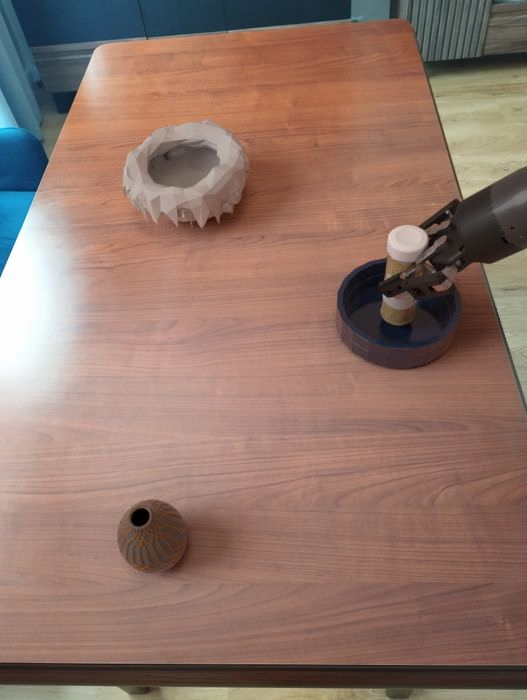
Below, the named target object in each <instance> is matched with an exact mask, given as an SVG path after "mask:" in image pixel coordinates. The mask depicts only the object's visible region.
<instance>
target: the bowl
mask: <svg viewBox="0 0 527 700" xmlns="http://www.w3.org/2000/svg"><path fill="white" fill-rule="evenodd" d="M246 152H247V151H246V147H245V146H244V144H242V142H241V141H240V140H239V139H238V138H237V137H236V136H235V135H234V133H233V132H232V131H231V129H227V128H224V127H222V126H221V125H220V124H218V123H217V122H215V121H213V120H212V119H210V118H205V119H204V120H202V121H189V122H185V123H181V124H180V125H168V126H163V127H160V128H157V129H155V130H154V131H153V133H151V134H150V135H148V136H147V137H146V138H145V140H143V141H142V143H140V145H138V146H137V147H136V148H134V149H132V150H130V151H129V152H128V153H127V155H126V160H125V165H124V167H122V170H123V171H122V173H123V174H122V191H123V193H124V197H125V198H128V199H129V201H130V202H131V205H132V207H133V208H134V209H137V211H138V213H139V214H140V213H141V214H142V216H143V218H144V220H145V222H146V224H147V225H148V217H147V212H148V213H149V214H150V216H151V219H152V221H153V222H154V223H156V224H158V223H159V220H160V219H161V220H162V221H171V222H172V223H173V224H174V225H175V227H176V228H179V222H185V223H187V222H189V223H190V226H191V228H194V226H193V222H195V221H196V223H197V224H198V226H199V227H200V228H201V229H204V227H205V225H206V223H207V221H208V219H211V218H213V217H214V218H215V219H216V221H217V223H218V224H220V219H221V216H224V215H223V213H230V214H231V215H232V216H233V213H234V206H235V205H238V204H239V202H240V201H241V199H242V193H243V190H244V188H245V186H246V182H247V179H248V174H249V173H248V172H249V171H250V165H251V164H250V159H249V157H248V154H247V153H246ZM146 211H147V212H146Z"/></svg>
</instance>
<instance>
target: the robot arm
mask: <svg viewBox="0 0 527 700" xmlns="http://www.w3.org/2000/svg"><path fill="white" fill-rule="evenodd" d="M434 225H435V226H434ZM417 227H419V228H421V229H423V230H424V231H425V232H426V233H427V235H428V238H429V242H428V249H427V250H426V251H425V252H423V253H422V254H420V255H419V256H418V257H417V258H416V259H415V263H414V264H413V265H412V266H410V267H409V268H407V269H406V270H405V271H403V272H400V273H398V274H396V275H394V276H392V277H390V278H388V279H386V280H384V281H382V282H380V283H379V285H378V290H379V291H380V292H381V293H382V294H383V295H385V296H386V297H388V298H392V297H394V296H396V295H399V294H401V293H403V292H405V291H407V292H408V293H409V294H410V295H411V296H412V297H413V298H414V299H415V300H420V299H426V298H432V297H438V296H444V295H449V294H452V293H453V292H454V291H455V290H456V288H457V286H456V284H455V283H454V284H455V285H454V284H453V283H452V281H453V282H454V279H455V277H456V275H457V273H461V272H462V271H464V270H465V269H466V268H467V267H469V266H470V265H471V264H473V263H480V264H485V265H492V264H494V263H497V262H500V261H502V260H504V259H506V258H508V257H511V256H513V255H515V254H518V253H519V252H522V251H524V250H526V249H527V165H525V166H523V167H521V168H518V169H516V170H515V171H512V172H511V173H509V174H507V175H506V176H504V177H502V178H500V179H498V180H496V181H494V182H493V183H491V184H489V185H488V186H485V187H484V188H482V189H480V190H479V191H476V192H475V193H473V194H471V195H469V196H467V197H465V198H464V199H462V200H461V201H460V200H459V199H458V198H454V199H452V200H451V201H449V202H448V203H447V204H446V205H445V206H443V207H442V208H440V209H439V210H437V211H436V212H435V213H433V215H430V217H428V218H427V219H426V220H424V221H423V222H422V223H420V224H419V225H418V226H417ZM387 257H388V254H387V255H386V257H385V258H386V262H387ZM427 262H428V263H427ZM428 264H429V265H431V266H433V267H434V268H436V269H437V270H433V269H432V268H431V267H430V266H429V265H428ZM418 271H421V272H422V273H423V274H424V275H422V276H418V277H415V276H414V274H415V273H417V272H418Z"/></svg>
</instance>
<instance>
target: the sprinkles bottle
mask: <svg viewBox="0 0 527 700" xmlns="http://www.w3.org/2000/svg"><path fill="white" fill-rule="evenodd" d="M428 242H429V238H428V235H427V233H426V232H425V231H424V230H423V229H421V228H419V227H418V226H416V225H412V224H404V225H399V226H396V227H394V228H393V229H392V230H391V231H390V232H389V234H388V236H387V242H386V251H387V255H388V257H387V256H386V258H387V265H386V274H385V279H384V280H386V279H388V278H390V277H392V276H394V275H396V274H398V273H400V272H403V271H405V270H406V269H407V268H409V267H410V266H412V265H413V264H414V263H415V259H416V258H417V257H418V256H419V255H420V254H422V253H423V252H425V251H426V250H427V249H428ZM414 276H415V277H418V276H422V272H421V271H418V272H417V273H415V274H414ZM416 302H417V300H415V299H414V298H413V297H412V296H411V295H410V294H409V293H408V292H407V291H405V292H403V293H401V294H399V295H396V296H394V297H392V298H388V297H386V296H385V295H383V302H382V307H381V315H382V317H383V319H384V320H385V321H386V322H388V323H390V324H392V325H396V326H402V325H406V324H408V323H410V322H411V321H412V320H413V319H414V317H415V313H416V311H415V308H416Z"/></svg>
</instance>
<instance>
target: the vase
mask: <svg viewBox="0 0 527 700" xmlns="http://www.w3.org/2000/svg"><path fill="white" fill-rule="evenodd" d="M188 534H189V533H188V529H187V524H186V521H185V519H184V518H183V516H182V514H181V513H180V511H179V510H178V508H175V506H173V505H172V504H170V503H168V502H167V501H164V500H160V499H154V498H153V499H144V500H141V501H138V502H137V503H134V504H133V505H131V506H130V507H129V508H128V509H127V510H126V511H125V512H124V513H123V515H122V517H121V519H120V521H119V523H118V527H117V531H116V540H117V541H116V542H117V546H118V550H119V553H120V554H121V556H122V558H123V560H124V561H125V562H126V563H127V564H128V565H129V566H130V567H132V568H133V569H134V570H137V571H138V572H141V573H145V574H160V573H164V572H166V571H169V570H170V569H171V568H173V567H175V566H176V565H177V563H178V562H179V561H180V560H181V558H182V557H183V555H184V553H185V551H186V549H187V544H188V537H189V536H188Z"/></svg>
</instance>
